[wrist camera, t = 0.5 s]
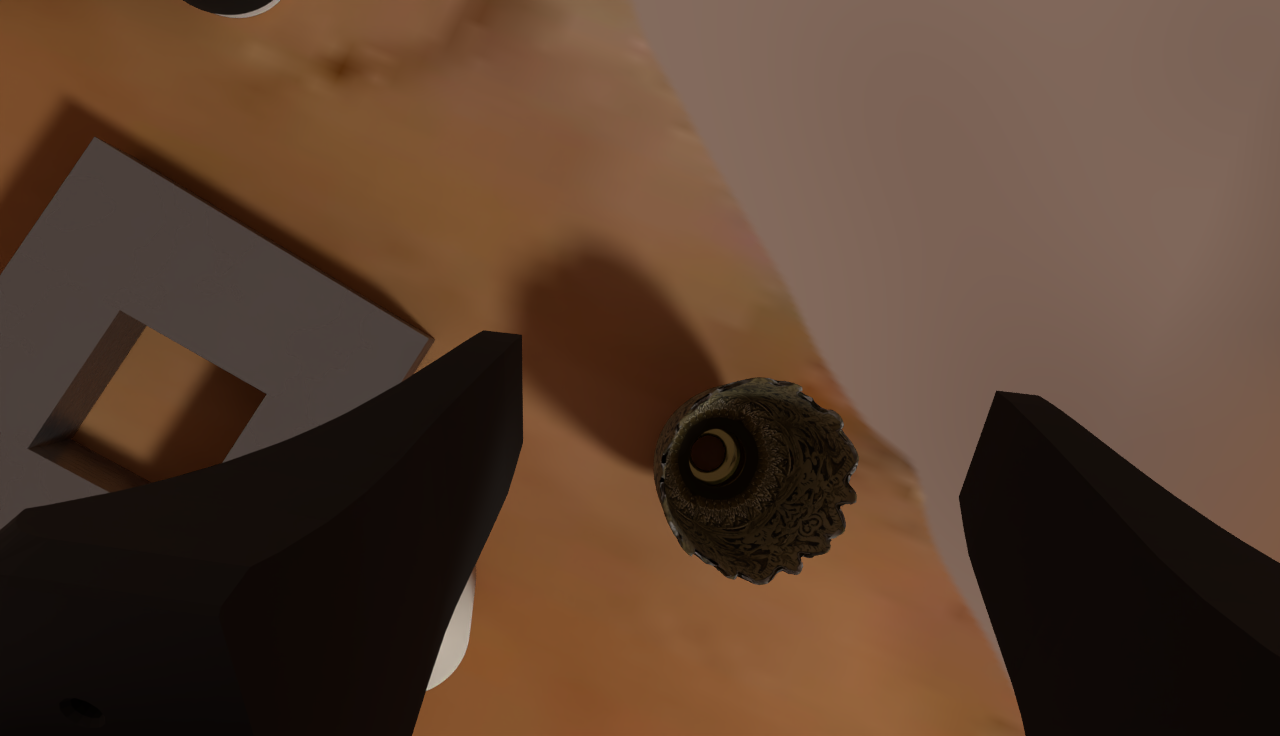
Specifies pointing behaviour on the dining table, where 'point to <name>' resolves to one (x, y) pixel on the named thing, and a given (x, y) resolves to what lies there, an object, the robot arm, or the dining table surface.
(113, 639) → the robot arm
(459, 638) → the white rounded cylinder
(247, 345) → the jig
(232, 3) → the dixie cup
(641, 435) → the dining table surface
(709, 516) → the cup
